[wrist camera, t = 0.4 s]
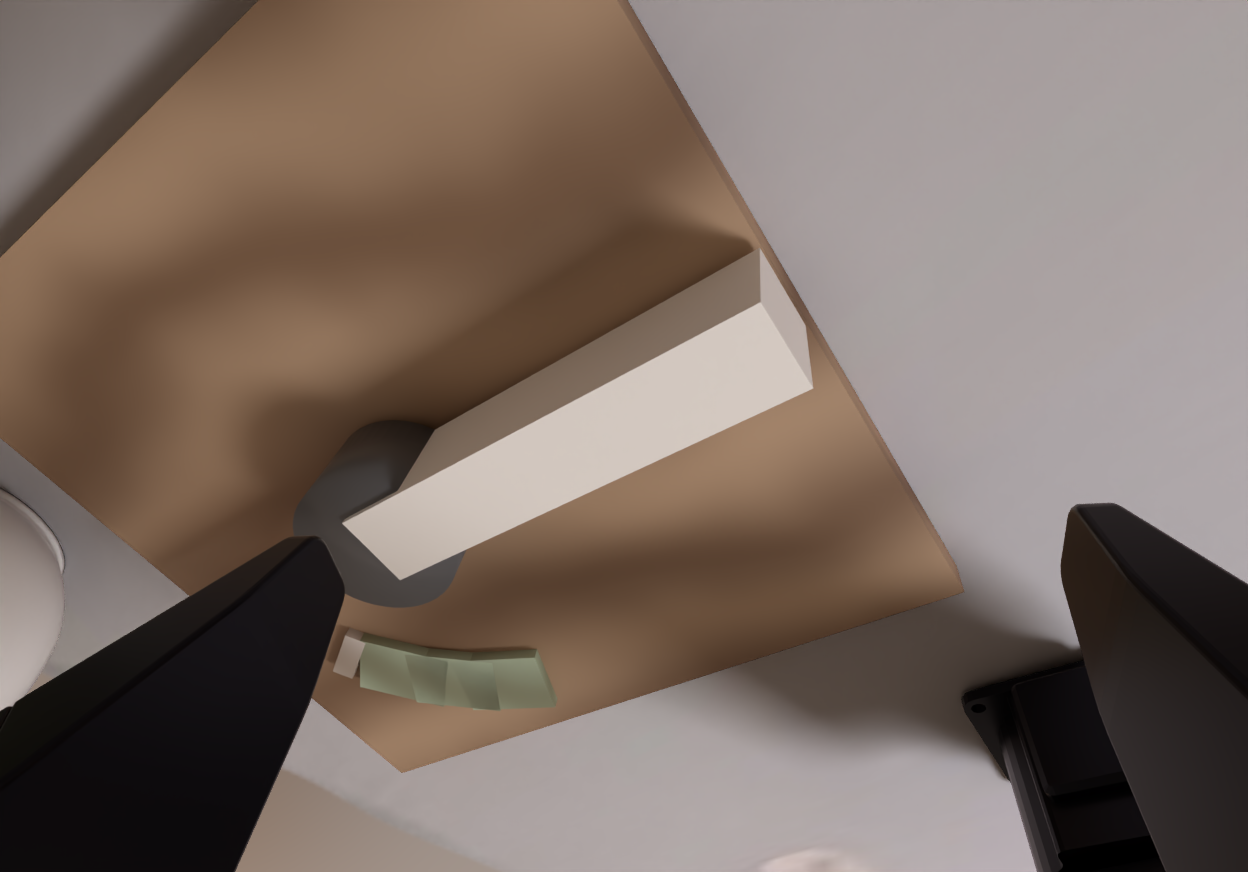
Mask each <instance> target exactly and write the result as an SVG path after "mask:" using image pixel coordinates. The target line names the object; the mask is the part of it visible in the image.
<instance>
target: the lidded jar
mask: <svg viewBox="0 0 1248 872" xmlns="http://www.w3.org/2000/svg"><path fill="white" fill-rule="evenodd" d="M64 567H65V560H64V555H63V551H62V548H61V546H60V544H59V542H58V540H57V538H56V537H55V535H54V534H53V532H52V531H51V529H50V528H49V527H48V526H47V524H46V523H45V522H44V521H43V520H42V519H41V518H40V517H39V516H38V515H37V514H36V513H35V512H34V511H33V510H31V509H30V508H29V507H28V506H27V505H25V504H24V503H23V502H21V501H20V500H18V499H17V498H16V497H14V496H13V495H11V494H9V493H7V492H6V491H4V490H2V489H1V488H0V711H1V710H2V709H4V708H6V707H8V706H12V707H13V705H14V703H15V702H16V701H17V700H19V699H21V698H22V697H24V696H26V694H27V693H28V691H29V690H30V689H31V687H32V686H33V684H34V683H35V682H36V680H37V679H38V677H39V675H40V673H41V672H42V670H43V668H44V666H45V665H46V663H47V661H48V660H49V658H50V656H51V654H52V653H53V651H54V649H55V646H56V644H57V641H58V638H59V635H60V633H61V629H62V624H63V619H64V613H65V590H64V581H63V577H62V574H63V572H64Z"/></svg>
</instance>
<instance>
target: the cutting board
mask: <svg viewBox="0 0 1248 872" xmlns="http://www.w3.org/2000/svg"><path fill="white" fill-rule="evenodd" d="M758 248H760V249H761V251H762V252H763V254H764V256H765V257H766V259H767V261H768V262H769V264H770V266H771V268H772V269H773V271H774V273H775V274H776V276H777V278H778V279H779V281H780V283H781V285H782V286H783V288H784V290H785V291H786V293H787V295H788V296H789V298H790V300H791V302H792V303H793V305H794V307H795V308H796V310H797V312H798V313H799V315H800V317H801V318H802V320H803V322H804V324H805V325H806V333H807V342H808V350H809V358H810V366H811V374H812V382H813V389H811V390H809V391H807V392H805V393H802V394H800V395H798V396H796V397H794V398H792V399H790V400H787V401H785V402H783V403H781V404H779V405H777V406H774V407H772V408H770V409H768V410H766V411H764V412H762V413H759V414H757V415H755V416H753V417H751V418H749V419H746V420H744V421H742V422H740V423H738V424H736V425H734V426H731V427H729V428H727V429H725V430H723V431H721V432H718V433H716V434H714V435H712V436H710V437H708V438H706V439H703V440H701V441H699V442H697V443H695V444H693V445H690V446H688V447H686V448H684V449H682V450H680V451H677V452H675V453H673V454H671V455H669V456H667V457H665V458H662V459H660V460H658V461H656V462H654V463H652V464H649V465H647V466H645V467H643V468H641V469H639V470H637V471H634V472H632V473H630V474H628V475H626V476H624V477H621V478H619V479H617V480H615V481H613V482H611V483H609V484H606V485H604V486H602V487H600V488H598V489H596V490H593V491H591V492H589V493H587V494H585V495H583V496H581V497H578V498H576V499H574V500H572V501H570V502H568V503H565V504H563V505H561V506H559V507H557V508H555V509H553V510H550V511H548V512H546V513H544V514H542V515H540V516H537V517H535V518H533V519H531V520H529V521H527V522H525V523H522V524H520V525H518V526H516V527H514V528H512V529H509V530H507V531H505V532H503V533H501V534H499V535H496V536H494V537H492V538H490V539H488V540H486V541H484V542H481V543H479V544H477V545H475V546H473V547H471V548H468V549H467V550H466V552H465V554H464V556H463V559H462V561H461V563H460V565H459V568H458V570H457V572H456V574H455V577H454V579H453V581H452V583H451V584H450V586H449V587H448V589H447V590H446V591H445V592H444V593H443V594H442V595H440V596H439V597H438V598H436V599H434V600H432V601H431V602H428V603H425V604H423V605H419V606H414V607H406V608H392V607H383V606H378V605H373V604H370V603H366V602H363V601H360V600H358V599H355V598H353V597H351V596H349V595H347V594H345V596H344V601H343V605H342V608H341V611H340V614H339V617H338V620H337V623H336V626H335V629H334V632H333V635H332V638H331V641H330V644H329V647H328V650H327V653H326V656H325V659H324V662H323V665H322V668H321V671H320V674H319V678H318V681H317V684H316V686H315V689H314V692H313V695H312V699H314V700H315V701H316V702H317V703H318V704H320V705H321V706H322V707H323V708H324V709H326V710H327V711H328V712H329V713H330V714H332V715H333V716H334V717H335V718H336V719H338V720H339V721H340V722H341V723H342V724H344V725H345V726H346V727H347V728H348V729H350V730H351V731H352V732H353V733H354V734H356V735H357V736H358V737H359V738H360V739H362V740H363V741H364V742H365V743H366V744H368V745H369V746H370V747H371V748H372V749H374V750H375V751H376V752H377V753H378V754H380V755H381V756H382V757H383V758H384V759H386V760H387V761H388V762H389V763H390V764H392V765H393V766H394V767H395V768H396V769H398V770H399V771H400V772H401V773H403V772H407V771H410V770H413V769H416V768H419V767H422V766H425V765H428V764H431V763H435V762H438V761H441V760H444V759H447V758H450V757H453V756H456V755H459V754H463V753H466V752H469V751H472V750H475V749H478V748H481V747H484V746H487V745H491V744H494V743H497V742H500V741H503V740H506V739H509V738H512V737H515V736H519V735H522V734H525V733H528V732H531V731H534V730H537V729H540V728H543V727H547V726H550V725H553V724H556V723H559V722H562V721H565V720H568V719H571V718H574V717H578V716H581V715H584V714H587V713H590V712H593V711H596V710H599V709H602V708H606V707H609V706H612V705H615V704H618V703H621V702H624V701H627V700H630V699H634V698H637V697H640V696H643V695H646V694H649V693H652V692H655V691H658V690H662V689H665V688H668V687H671V686H674V685H677V684H680V683H683V682H686V681H690V680H693V679H696V678H699V677H702V676H705V675H708V674H711V673H714V672H718V671H721V670H724V669H727V668H730V667H733V666H736V665H739V664H742V663H746V662H749V661H752V660H755V659H758V658H761V657H764V656H767V655H770V654H773V653H777V652H780V651H783V650H786V649H789V648H792V647H795V646H798V645H801V644H805V643H808V642H811V641H814V640H817V639H820V638H823V637H826V636H829V635H833V634H836V633H839V632H842V631H845V630H848V629H851V628H854V627H857V626H861V625H864V624H867V623H870V622H873V621H876V620H879V619H882V618H885V617H889V616H892V615H895V614H898V613H901V612H904V611H907V610H910V609H913V608H917V607H920V606H923V605H926V604H929V603H932V602H935V601H938V600H941V599H945V598H948V597H951V596H954V595H957V594H960V593H963V592H964V589H963V586H962V582H961V579H960V576H959V573H958V569H957V566H956V564H955V562H954V561H953V559H952V557H951V556H950V554H949V552H948V550H947V549H946V547H945V545H944V543H943V542H942V540H941V538H940V537H939V535H938V533H937V531H936V530H935V528H934V526H933V525H932V523H931V521H930V519H929V518H928V516H927V514H926V513H925V511H924V509H923V507H922V506H921V504H920V502H919V501H918V499H917V497H916V495H915V494H914V492H913V490H912V488H911V487H910V485H909V483H908V482H907V480H906V478H905V476H904V475H903V473H902V471H901V470H900V468H899V466H898V464H897V463H896V461H895V459H894V458H893V456H892V454H891V452H890V451H889V449H888V447H887V445H886V444H885V442H884V440H883V439H882V437H881V435H880V433H879V432H878V430H877V428H876V427H875V425H874V423H873V421H872V420H871V418H870V416H869V415H868V413H867V411H866V409H865V408H864V406H863V404H862V402H861V401H860V399H859V397H858V396H857V394H856V392H855V390H854V389H853V387H852V385H851V384H850V382H849V380H848V378H847V377H846V375H845V373H844V372H843V370H842V368H841V366H840V365H839V363H838V361H837V359H836V358H835V356H834V354H833V353H832V351H831V349H830V347H829V346H828V344H827V342H826V341H825V339H824V337H823V335H822V334H821V332H820V330H819V329H818V327H817V325H816V323H815V322H814V320H813V318H812V317H811V315H810V313H809V311H808V310H807V308H806V306H805V304H804V303H803V301H802V299H801V298H800V296H799V294H798V292H797V291H796V289H795V287H794V286H793V284H792V282H791V280H790V279H789V277H788V275H787V274H786V272H785V270H784V268H783V267H782V265H781V263H780V261H779V260H778V258H777V256H776V255H775V253H774V251H773V249H772V248H771V246H770V244H769V243H768V241H767V239H766V237H765V236H764V234H763V232H762V231H761V229H760V227H759V225H758V224H757V222H756V220H755V218H754V217H753V215H752V213H751V212H750V210H749V208H748V206H747V205H746V203H745V201H744V200H743V198H742V196H741V194H740V193H739V191H738V189H737V188H736V186H735V184H734V182H733V181H732V179H731V177H730V176H729V174H728V172H727V170H726V169H725V167H724V165H723V163H722V162H721V160H720V158H719V157H718V155H717V153H716V151H715V150H714V148H713V146H712V145H711V143H710V141H709V139H708V138H707V136H706V134H705V133H704V131H703V129H702V127H701V126H700V124H699V122H698V120H697V119H696V117H695V115H694V114H693V112H692V110H691V108H690V107H689V105H688V103H687V102H686V100H685V98H684V96H683V95H682V93H681V91H680V90H679V88H678V86H677V84H676V83H675V81H674V79H673V77H672V76H671V74H670V72H669V71H668V69H667V67H666V65H665V64H664V62H663V60H662V59H661V57H660V55H659V53H658V52H657V50H656V48H655V47H654V45H653V43H652V41H651V40H650V38H649V36H648V34H647V33H646V31H645V29H644V28H643V26H642V24H641V22H640V21H639V19H638V17H637V16H636V14H635V12H634V10H633V9H632V7H631V5H630V4H629V2H628V0H259V1H257V2H256V3H255V4H254V5H253V6H252V7H251V8H250V9H249V10H248V11H247V12H246V13H245V14H244V15H243V16H242V17H241V18H240V19H239V20H238V21H237V22H236V23H235V24H234V25H233V26H232V27H231V28H230V29H229V30H228V31H227V32H226V33H225V34H224V35H223V36H222V37H221V38H220V39H219V40H218V41H217V42H216V43H215V44H214V45H213V46H212V47H211V48H210V49H209V50H208V51H207V52H206V53H205V54H204V55H203V56H202V57H201V58H200V59H199V60H198V61H197V62H196V63H195V64H194V65H193V66H192V67H191V68H190V69H189V70H188V71H187V72H186V73H185V74H184V75H183V76H182V77H181V78H180V79H179V80H178V81H177V82H176V83H175V84H174V85H173V86H172V87H171V88H170V89H169V90H168V91H167V92H166V93H165V94H164V95H163V96H162V97H161V98H160V99H159V100H158V101H157V102H156V103H155V104H154V105H153V106H152V107H151V108H150V109H149V110H148V111H147V112H146V113H145V114H144V115H143V116H142V117H141V118H140V119H139V120H138V121H137V122H136V123H135V124H134V125H133V126H132V127H131V128H130V129H129V130H128V131H127V132H126V133H125V134H124V135H123V136H122V137H121V138H120V139H119V140H118V141H117V142H116V143H115V144H114V145H113V146H112V147H111V148H110V149H109V150H108V151H107V152H106V153H105V154H104V155H103V156H102V157H101V158H100V159H99V160H98V161H97V162H96V163H95V164H94V165H93V166H92V167H91V168H90V169H89V170H88V171H87V172H86V173H85V174H84V175H83V176H82V177H81V178H80V179H79V180H78V181H77V182H76V183H75V184H74V185H73V186H72V187H71V188H70V189H69V190H68V191H67V192H66V193H65V194H64V195H63V196H62V197H61V198H60V199H59V200H58V201H57V202H55V203H54V204H53V205H52V206H51V207H50V208H49V209H48V210H47V211H46V212H45V213H44V214H43V215H42V216H41V217H40V218H39V219H38V220H37V221H36V222H35V223H34V224H33V225H32V226H31V227H30V228H29V229H28V230H27V231H26V232H25V233H24V234H23V235H22V236H21V237H20V238H19V239H18V240H17V241H16V242H15V243H14V244H13V245H12V246H11V247H10V248H9V249H8V250H7V251H6V252H5V253H4V254H3V255H2V256H1V257H0V438H1V439H2V440H3V441H5V442H6V443H7V444H8V445H9V446H11V447H12V448H13V449H14V450H15V451H17V452H18V453H19V454H20V455H21V456H22V457H24V458H25V459H26V460H27V461H28V462H30V463H31V464H32V465H33V466H34V467H36V468H37V469H38V470H39V471H40V472H42V473H43V474H44V475H45V476H46V477H48V478H49V479H50V480H51V481H52V482H54V483H55V484H56V485H57V486H58V487H60V488H61V489H62V490H63V491H64V492H66V493H67V494H68V495H69V496H70V497H72V498H73V499H74V500H75V501H76V502H78V503H79V504H80V505H81V506H82V507H84V508H85V509H86V510H87V511H88V512H90V513H91V514H92V515H93V516H94V517H96V518H97V519H98V520H99V521H100V522H102V523H103V524H104V525H105V526H106V527H108V528H109V529H110V530H111V531H112V532H114V533H115V534H116V535H117V536H118V537H120V538H121V539H122V540H123V541H124V542H126V543H127V544H128V545H129V546H130V547H132V548H133V549H134V550H135V551H136V552H138V553H139V554H140V555H141V556H142V557H144V558H145V559H146V560H147V561H148V562H150V563H151V564H152V565H153V566H154V567H155V568H157V569H158V570H159V571H160V572H161V573H163V574H164V575H165V576H166V577H167V578H169V579H170V580H171V581H172V582H173V583H175V584H176V585H177V586H178V587H179V588H181V589H182V590H183V591H184V592H185V593H187V594H188V595H189V596H191V595H193V594H194V593H196V592H198V591H199V590H201V589H203V588H204V587H206V586H208V585H209V584H211V583H213V582H214V581H216V580H218V579H219V578H221V577H223V576H224V575H226V574H227V573H229V572H231V571H232V570H234V569H236V568H237V567H239V566H241V565H242V564H244V563H246V562H247V561H249V560H251V559H252V558H254V557H256V556H257V555H259V554H261V553H262V552H264V551H266V550H267V549H269V548H270V547H272V546H274V545H275V544H277V543H279V542H280V541H282V540H284V539H286V538H288V537H292V536H294V533H293V517H294V512H295V510H296V508H297V505H298V504H299V502H300V501H301V499H302V498H303V497H304V495H305V494H306V493H307V491H308V490H309V489H310V488H311V486H312V485H313V484H314V482H315V481H316V480H317V478H318V477H319V476H320V474H321V473H322V472H323V471H324V469H325V468H326V467H327V465H328V464H329V463H330V461H331V460H332V459H333V457H334V456H335V455H336V454H337V452H338V451H339V450H340V448H341V447H342V446H343V444H344V443H345V442H346V441H347V439H348V438H349V437H350V436H351V435H352V434H353V433H354V432H356V431H357V430H358V429H360V428H362V427H364V426H366V425H368V424H371V423H375V422H379V421H386V420H400V421H408V422H414V423H418V424H421V425H424V426H427V427H429V428H432V429H434V430H435V429H437V428H439V427H441V426H442V425H444V424H446V423H448V422H450V421H451V420H453V419H455V418H457V417H459V416H460V415H462V414H464V413H466V412H467V411H469V410H471V409H473V408H475V407H476V406H478V405H480V404H482V403H484V402H485V401H487V400H489V399H491V398H492V397H494V396H496V395H498V394H500V393H501V392H503V391H505V390H507V389H508V388H510V387H512V386H514V385H516V384H517V383H519V382H521V381H523V380H525V379H526V378H528V377H530V376H532V375H533V374H535V373H537V372H539V371H541V370H542V369H544V368H546V367H548V366H550V365H551V364H553V363H555V362H557V361H558V360H560V359H562V358H564V357H566V356H567V355H569V354H571V353H573V352H574V351H576V350H578V349H580V348H582V347H583V346H585V345H587V344H589V343H591V342H592V341H594V340H596V339H598V338H599V337H601V336H603V335H605V334H607V333H608V332H610V331H612V330H614V329H616V328H617V327H619V326H621V325H623V324H624V323H626V322H628V321H630V320H632V319H633V318H635V317H637V316H639V315H640V314H642V313H644V312H646V311H648V310H649V309H651V308H653V307H655V306H657V305H658V304H660V303H662V302H664V301H665V300H667V299H669V298H671V297H673V296H674V295H676V294H678V293H680V292H682V291H683V290H685V289H687V288H689V287H690V286H692V285H694V284H696V283H698V282H699V281H701V280H703V279H705V278H707V277H708V276H710V275H712V274H714V273H715V272H717V271H719V270H721V269H723V268H724V267H726V266H728V265H730V264H731V263H733V262H735V261H737V260H739V259H740V258H742V257H744V256H746V255H748V254H749V253H751V252H753V251H755V250H756V249H758Z"/></svg>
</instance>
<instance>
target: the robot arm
mask: <svg viewBox="0 0 1248 872" xmlns="http://www.w3.org/2000/svg"><path fill="white" fill-rule="evenodd" d="M1061 578H1062V584H1063V588H1064V591H1065V595H1066V598H1067V602H1068V605H1069V609H1070V612H1071V616H1072V620H1073V623H1074V627H1075V630H1076V634H1077V637H1078V641H1079V644H1080V648H1081V651H1082V655H1083V658H1084V661H1080V662H1077V663H1073V664H1069V665H1065V666H1062V667H1058V668H1054V669H1051V670H1047V671H1043V672H1039V673H1036V674H1032V675H1028V676H1025V677H1021V678H1017V679H1013V680H1010V681H1006V682H1002V683H999V684H995V685H991V686H987V687H984V688H980V689H976V690H973V691H970V692H967V693H965V694H964V695H963V696H962V699H961V700H962V704H963V707H964V711H965V713H966V715H967V716H968V718H969V719H970V721H971V722H972V724H973V725H974V727H975V729H976V730H977V732H978V733H979V735H980V736H981V738H982V739H983V741H984V742H985V744H986V746H987V747H988V749H989V750H990V752H991V753H992V755H993V756H994V758H995V759H996V761H997V762H998V764H999V766H1000V767H1001V769H1002V770H1003V772H1004V773H1005V775H1006V776H1007V778H1008V779H1009V781H1010V783H1011V785H1012V788H1013V791H1014V795H1015V798H1016V802H1017V805H1018V808H1019V812H1020V815H1021V819H1022V822H1023V825H1024V829H1025V832H1026V836H1027V839H1028V842H1029V846H1030V849H1031V853H1032V856H1033V859H1034V863H1035V866H1036V870H1037V872H1248V584H1247V583H1245V582H1244V581H1242V580H1240V579H1239V578H1237V577H1236V576H1234V575H1232V574H1231V573H1229V572H1227V571H1226V570H1224V569H1223V568H1221V567H1219V566H1218V565H1216V564H1214V563H1213V562H1211V561H1209V560H1208V559H1206V558H1205V557H1203V556H1201V555H1200V554H1198V553H1196V552H1195V551H1193V550H1192V549H1190V548H1188V547H1187V546H1185V545H1183V544H1182V543H1180V542H1179V541H1177V540H1175V539H1174V538H1172V537H1170V536H1169V535H1167V534H1165V533H1164V532H1162V531H1161V530H1159V529H1157V528H1156V527H1154V526H1152V525H1151V524H1149V523H1148V522H1146V521H1144V520H1143V519H1141V518H1139V517H1138V516H1136V515H1134V514H1133V513H1131V512H1130V511H1128V510H1126V509H1125V508H1123V507H1121V506H1119V505H1117V504H1114V503H1094V504H1077V505H1075V506H1074V507H1072V508H1071V510H1070V512H1069V514H1068V518H1067V525H1066V532H1065V538H1064V545H1063V552H1062V558H1061ZM344 596H345V586H344V581H343V579H342V576H341V574H340V572H339V570H338V568H337V566H336V564H335V562H334V560H333V557H332V555H331V553H330V551H329V549H328V547H327V545H326V543H325V541H324V540H322V539H321V538H320V537H318V536H314V535H310V536H292V537H288V538H286V539H284V540H282V541H280V542H279V543H277V544H275V545H274V546H272V547H270V548H269V549H267V550H266V551H264V552H262V553H261V554H259V555H257V556H256V557H254V558H252V559H251V560H249V561H247V562H246V563H244V564H242V565H241V566H239V567H237V568H236V569H234V570H232V571H231V572H229V573H227V574H226V575H224V576H223V577H221V578H219V579H218V580H216V581H214V582H213V583H211V584H209V585H208V586H206V587H204V588H203V589H201V590H199V591H198V592H196V593H194V594H193V595H191V596H189V597H188V598H186V599H184V600H183V601H181V602H179V603H178V604H176V605H175V606H173V607H171V608H170V609H168V610H166V611H165V612H163V613H161V614H160V615H158V616H156V617H155V618H153V619H151V620H150V621H148V622H146V623H145V624H143V625H141V626H140V627H138V628H136V629H135V630H133V631H132V632H130V633H128V634H127V635H125V636H123V637H122V638H120V639H118V640H117V641H115V642H113V643H112V644H110V645H108V646H107V647H105V648H103V649H102V650H100V651H98V652H97V653H95V654H93V655H92V656H90V657H89V658H87V659H85V660H84V661H82V662H80V663H79V664H77V665H75V666H74V667H72V668H70V669H69V670H67V671H65V672H64V673H62V674H60V675H59V676H57V677H55V678H54V679H52V680H51V681H49V682H47V683H46V684H44V685H42V686H41V687H39V688H37V689H36V690H34V691H32V692H31V693H29V694H27V695H26V696H24V697H22V698H21V699H19V700H17V701H16V702H15V703H14V705H13V707H12V706H8V707H6V708H4V709H2V710H1V711H0V872H235V871H236V869H237V866H238V864H239V862H240V860H241V857H242V855H243V853H244V851H245V848H246V846H247V844H248V841H249V839H250V837H251V835H252V832H253V830H254V828H255V826H256V824H257V821H258V819H259V817H260V815H261V812H262V810H263V808H264V806H265V803H266V801H267V799H268V797H269V794H270V792H271V790H272V788H273V785H274V783H275V781H276V778H277V776H278V774H279V772H280V770H281V767H282V765H283V763H284V761H285V758H286V756H287V754H288V752H289V749H290V747H291V745H292V743H293V740H294V738H295V736H296V733H297V731H298V729H299V727H300V724H301V722H302V720H303V718H304V715H305V713H306V710H307V708H308V706H309V703H310V700H311V698H312V695H313V692H314V689H315V686H316V684H317V681H318V678H319V674H320V671H321V668H322V665H323V662H324V659H325V656H326V653H327V650H328V647H329V644H330V641H331V638H332V635H333V632H334V629H335V626H336V623H337V620H338V617H339V614H340V611H341V608H342V605H343V601H344Z"/></svg>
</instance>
